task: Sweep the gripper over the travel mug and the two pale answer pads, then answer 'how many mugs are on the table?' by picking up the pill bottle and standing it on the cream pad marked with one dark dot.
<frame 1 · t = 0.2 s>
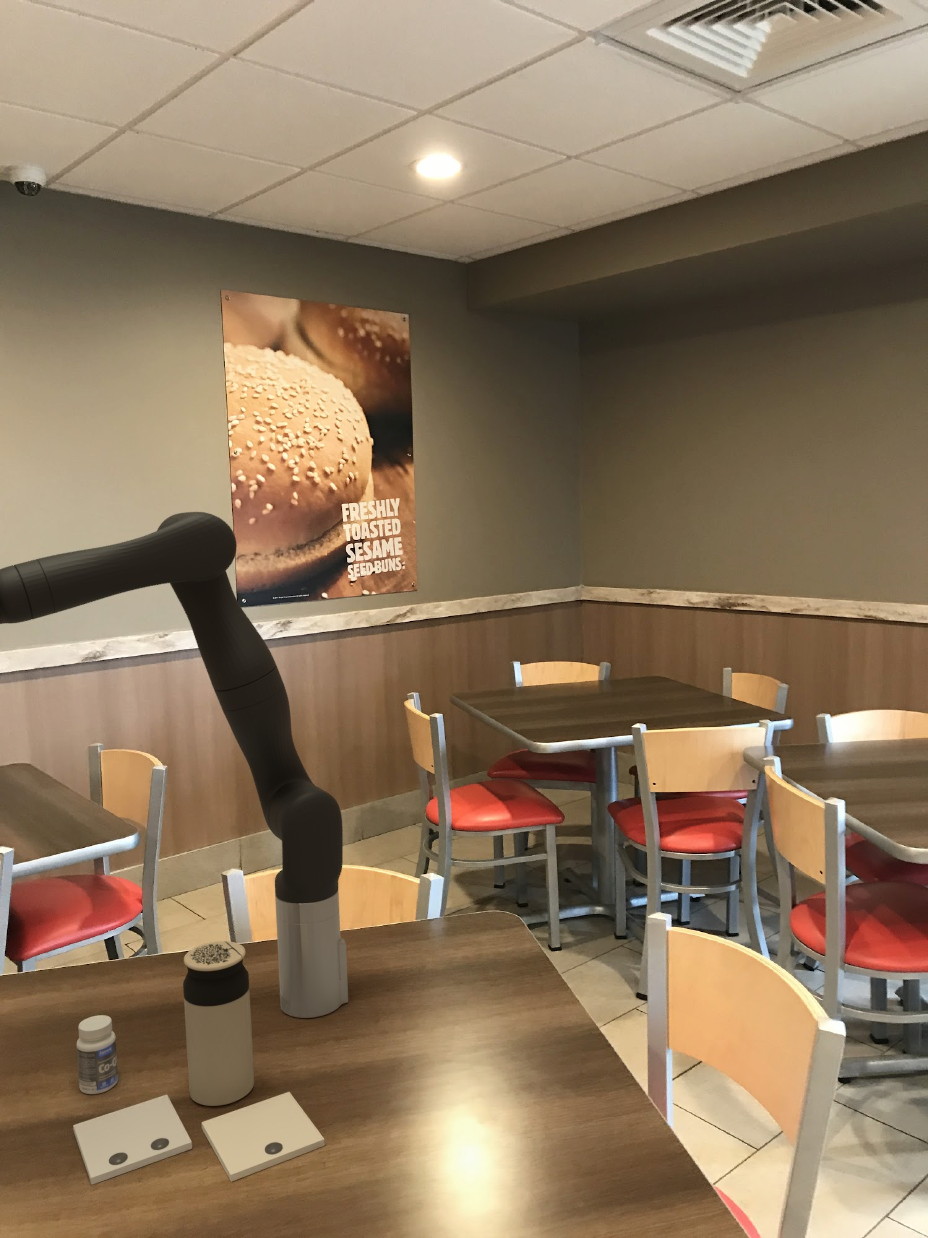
one-dot pad: (262, 1137, 112), on the table
pill bottle: (99, 1086, 124), on the table
two-dot pad: (131, 1140, 112), on the table
travel mug: (222, 1091, 122), on the table
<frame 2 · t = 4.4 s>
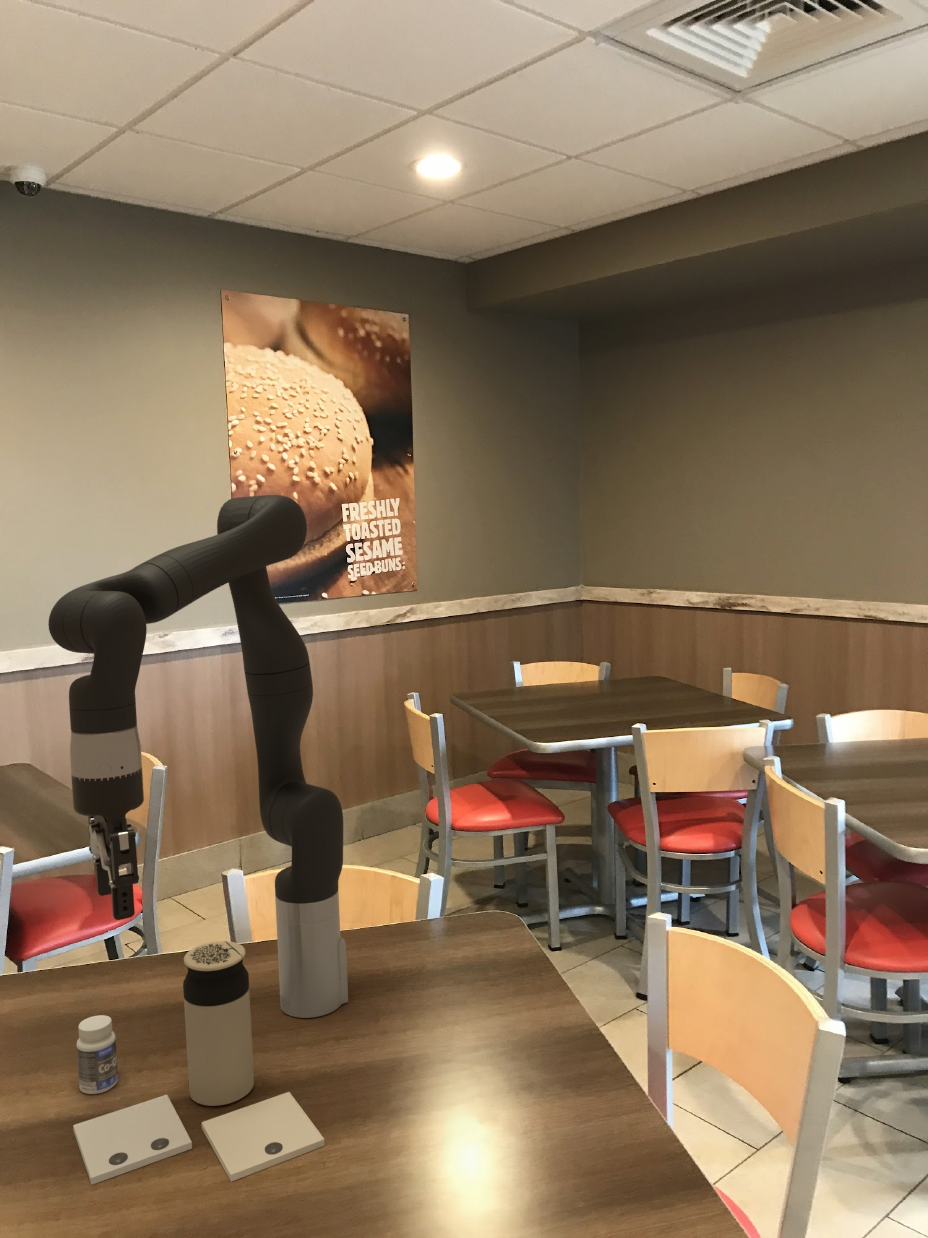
hand: (115, 905, 110), 28 cm above the table, tool pointing down, fingers open, 8 cm apart
nothing on the table moved.
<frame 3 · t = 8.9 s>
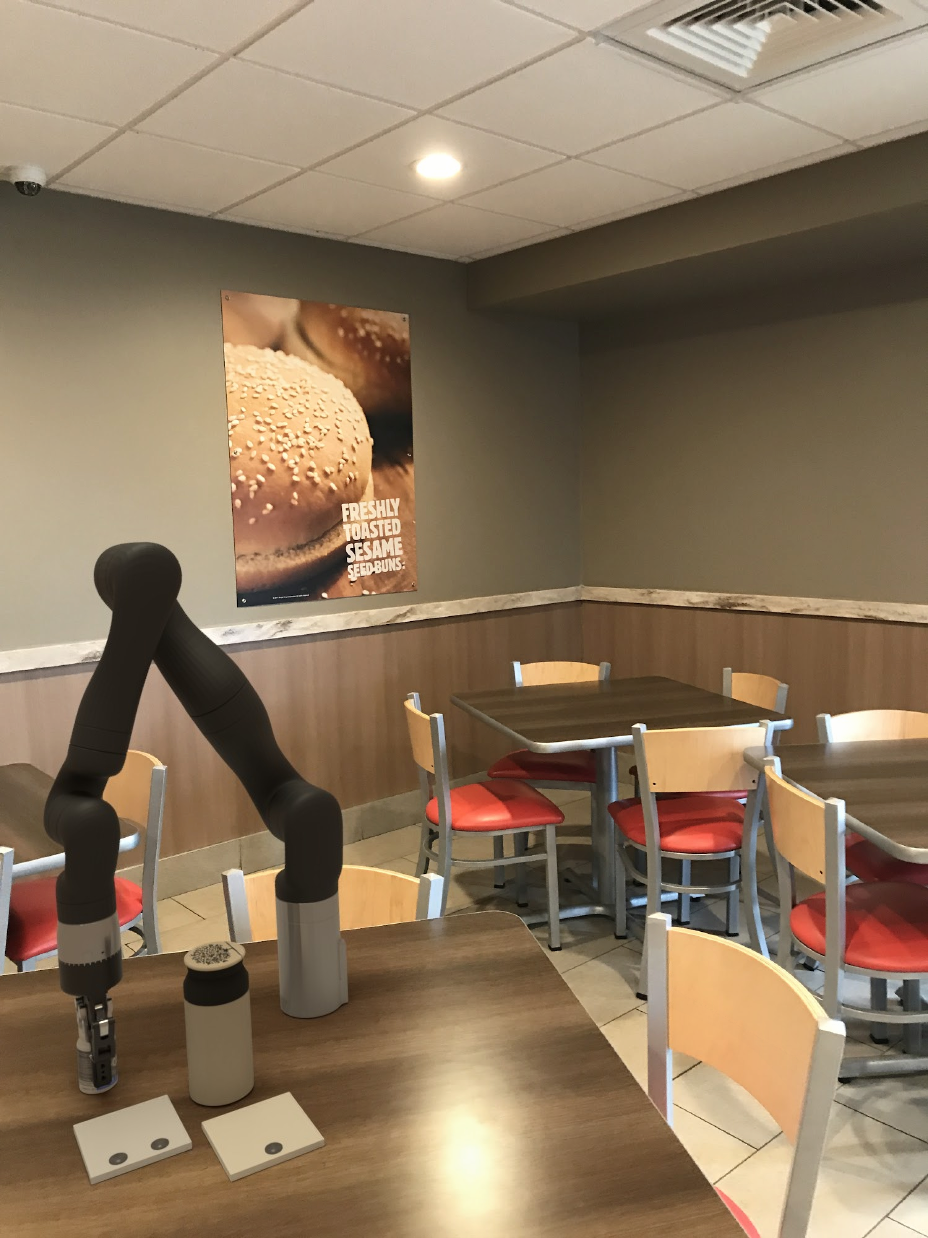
hand: (98, 1074, 124), 1 cm above the table, tool pointing down, fingers closed on pill bottle, 4 cm apart
pill bottle: (99, 1086, 124), on the table, touching gripper
everything else where it was.
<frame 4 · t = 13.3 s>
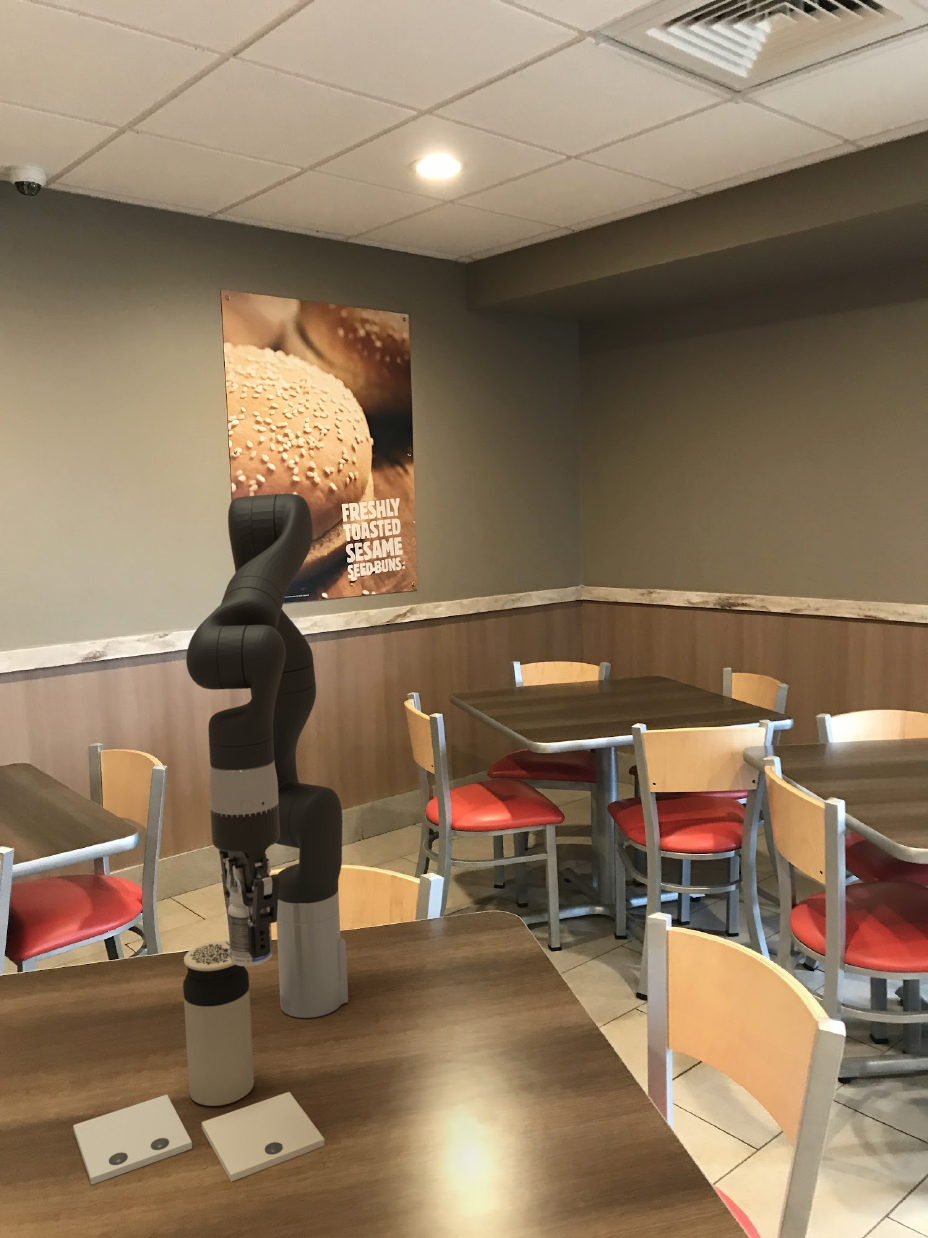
hand: (251, 946, 110), 23 cm above the table, tool pointing down, fingers closed on pill bottle, 4 cm apart
pill bottle: (251, 959, 110), point 22 cm above the table, touching gripper
everything else where it was.
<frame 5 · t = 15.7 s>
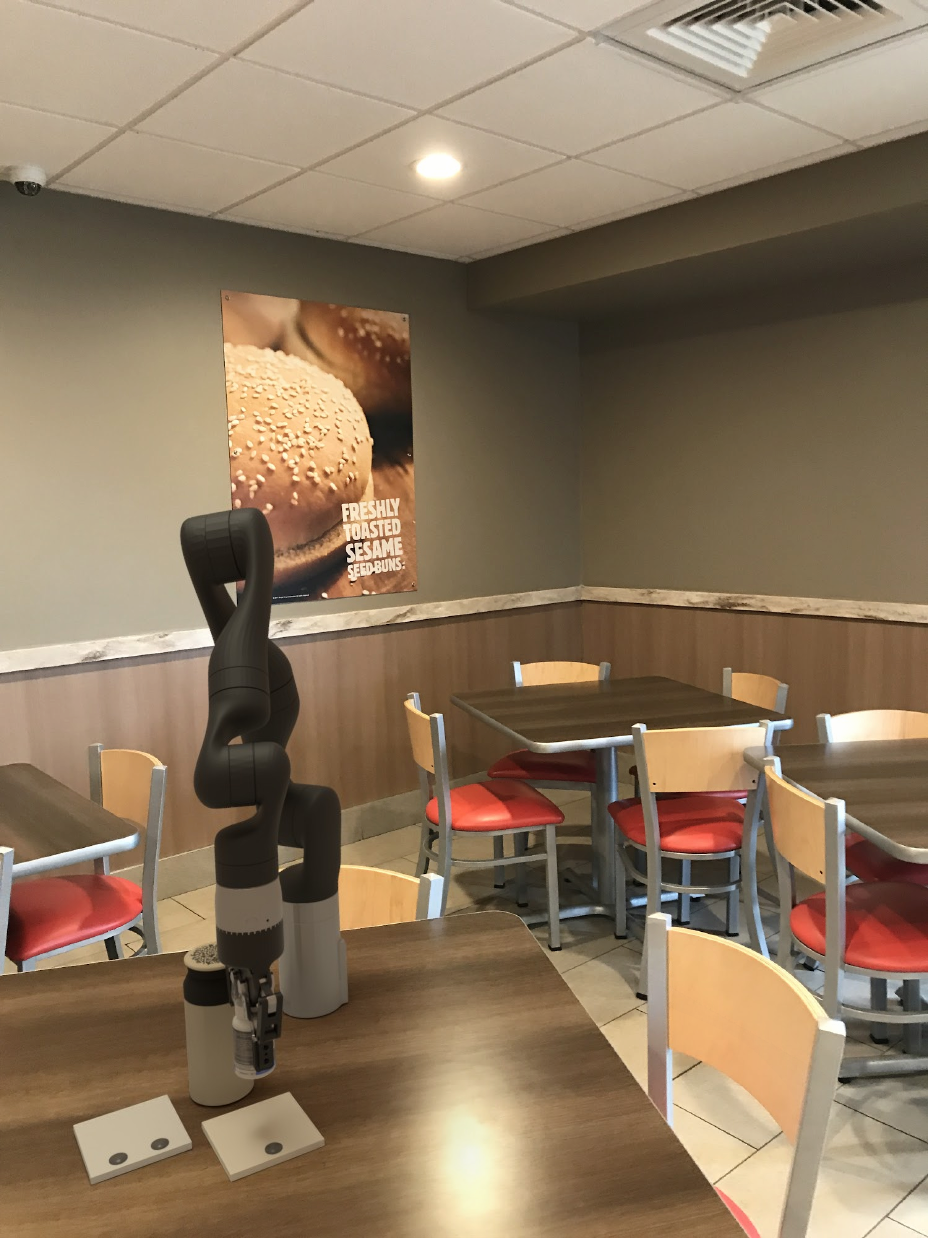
hand: (255, 1057, 111), 10 cm above the table, tool pointing down, fingers closed on pill bottle, 4 cm apart
pill bottle: (255, 1070, 111), point 8 cm above the table, touching gripper
everything else where it was.
when the fingers open (4 cm above the table, at t = 17.9 s): pill bottle drops 1 cm, resting on one-dot pad.
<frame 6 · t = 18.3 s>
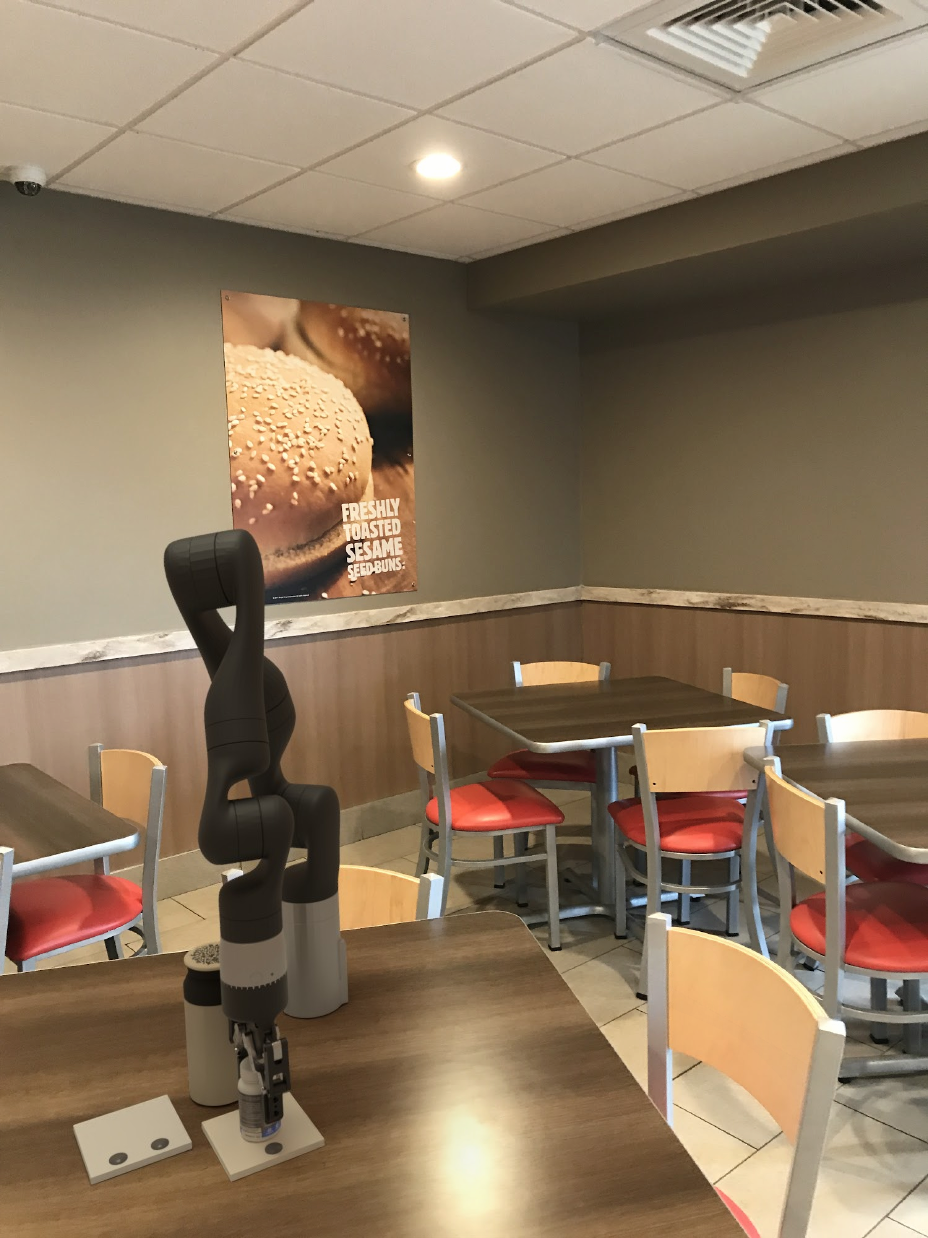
hand: (260, 1101, 112), 4 cm above the table, tool pointing down, fingers open, 8 cm apart
pill bottle: (261, 1132, 112), point 1 cm above the table, touching one-dot pad
everything else where it was.
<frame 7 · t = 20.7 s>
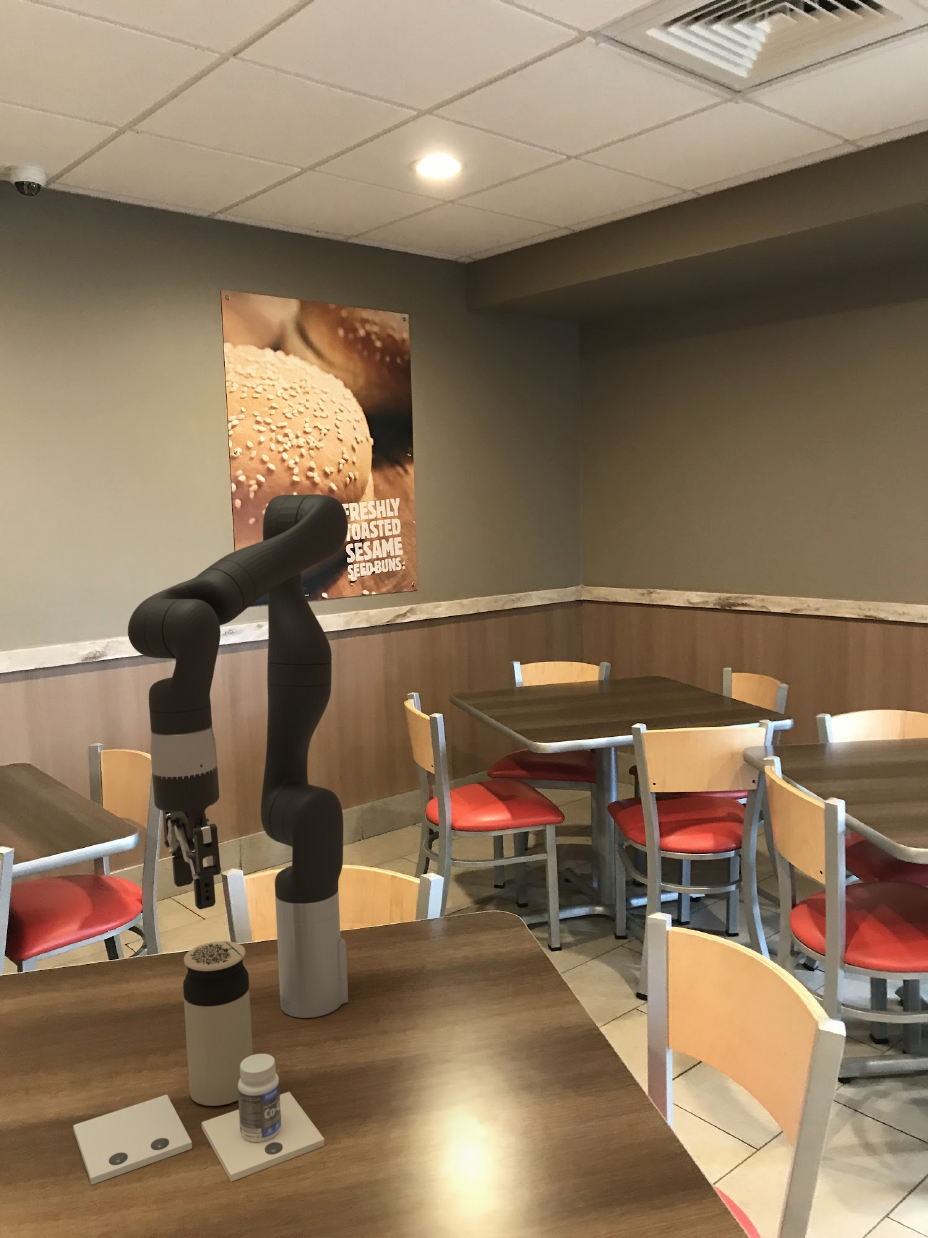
hand: (194, 895, 117), 27 cm above the table, tool pointing down, fingers open, 8 cm apart
nothing on the table moved.
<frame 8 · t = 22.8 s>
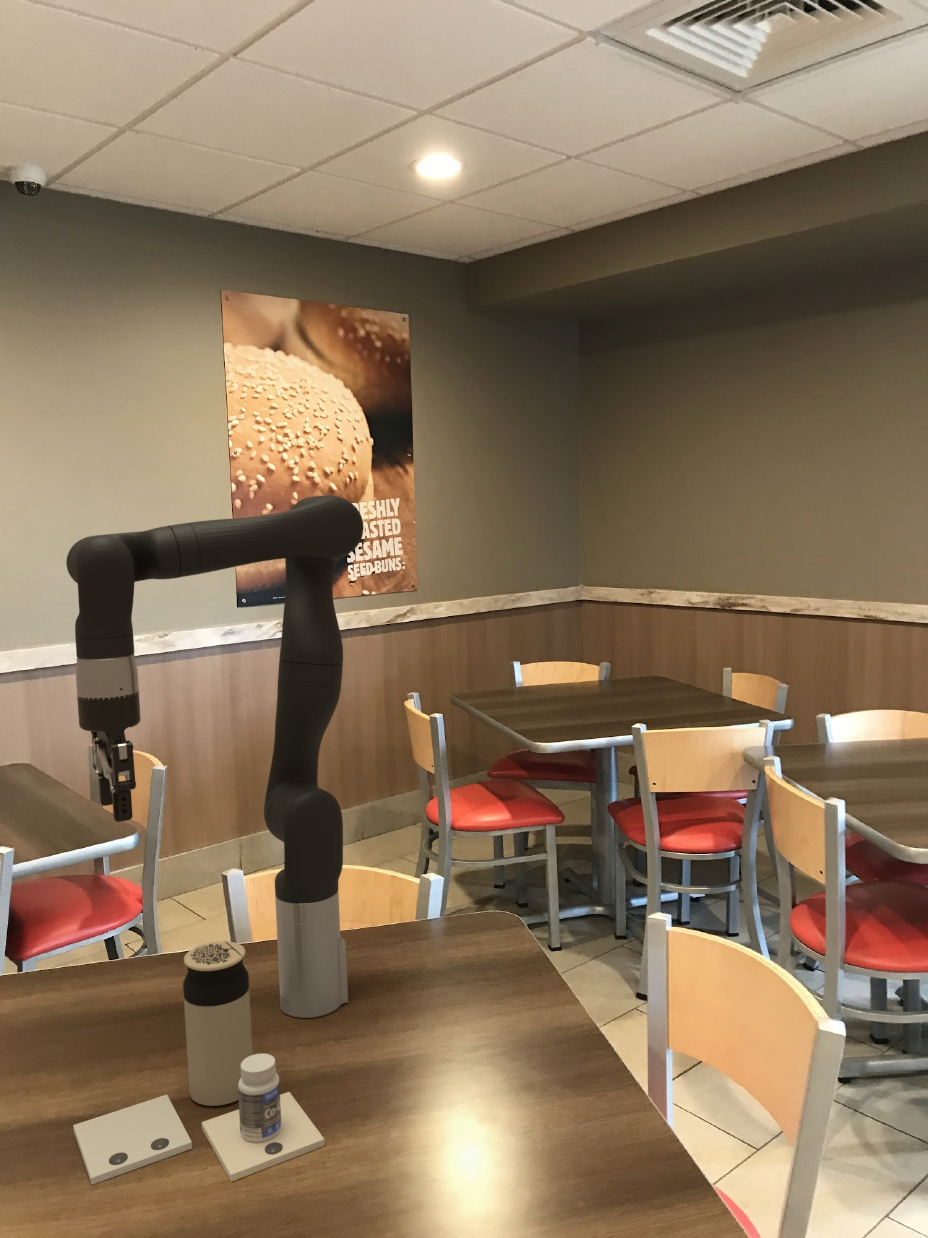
hand: (116, 812, 126), 34 cm above the table, tool pointing down, fingers open, 8 cm apart
nothing on the table moved.
at the end: pill bottle 0.1 cm off-centre on the one-dot pad, point 0.6 cm above the one-dot pad's base; pill bottle tilted 0°; travel mug moved 0.2 cm from its start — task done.
